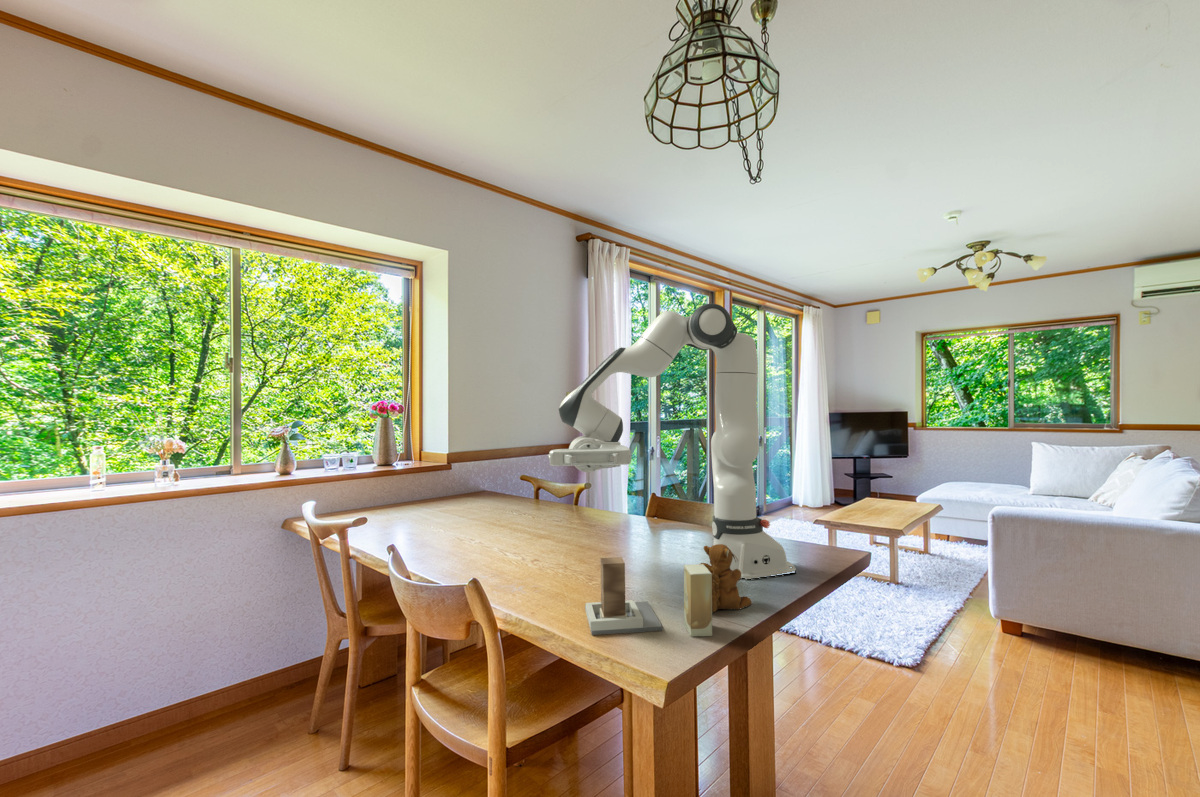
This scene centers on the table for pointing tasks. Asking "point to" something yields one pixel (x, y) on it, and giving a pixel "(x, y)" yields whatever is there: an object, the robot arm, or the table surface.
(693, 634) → the skincare box
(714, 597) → the stuffed squirrel
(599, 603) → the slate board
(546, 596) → the table surface
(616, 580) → the walnut box
